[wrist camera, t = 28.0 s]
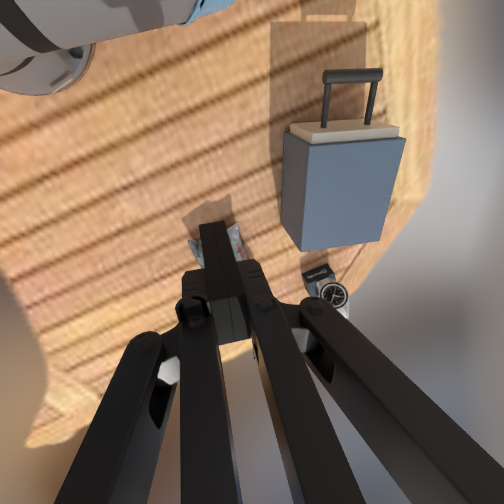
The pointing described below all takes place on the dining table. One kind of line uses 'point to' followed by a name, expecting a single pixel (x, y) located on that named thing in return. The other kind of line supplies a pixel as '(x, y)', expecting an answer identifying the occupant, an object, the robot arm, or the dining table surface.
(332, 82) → the drawer
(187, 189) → the dining table surface
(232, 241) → the packaged food
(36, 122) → the dining table surface
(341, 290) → the watch
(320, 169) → the cabinet
